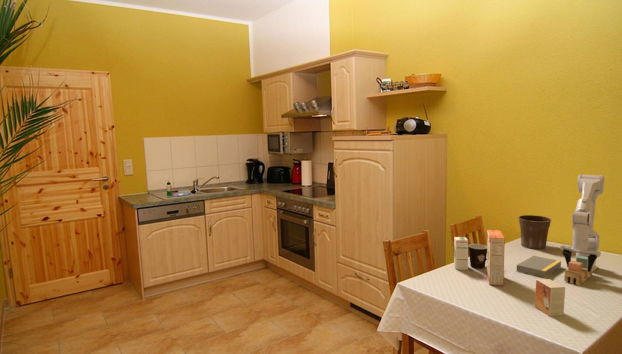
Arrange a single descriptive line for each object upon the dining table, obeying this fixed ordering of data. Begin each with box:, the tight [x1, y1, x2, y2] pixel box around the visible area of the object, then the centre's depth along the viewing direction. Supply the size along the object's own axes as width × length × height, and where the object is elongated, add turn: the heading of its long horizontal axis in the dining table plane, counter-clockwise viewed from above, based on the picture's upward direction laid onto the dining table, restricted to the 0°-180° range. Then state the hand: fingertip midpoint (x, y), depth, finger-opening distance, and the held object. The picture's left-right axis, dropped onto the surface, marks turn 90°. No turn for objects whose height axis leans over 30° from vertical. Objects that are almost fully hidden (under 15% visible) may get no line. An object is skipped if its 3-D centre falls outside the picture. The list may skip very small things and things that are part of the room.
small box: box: [534, 278, 566, 317], centre depth 143 cm, size 8×6×10 cm
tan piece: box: [563, 266, 593, 286], centre depth 174 cm, size 18×6×6 cm, turn 131°
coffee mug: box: [468, 243, 487, 270], centre depth 190 cm, size 12×9×10 cm
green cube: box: [575, 256, 588, 268], centre depth 177 cm, size 4×4×4 cm
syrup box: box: [453, 236, 469, 271], centre depth 189 cm, size 6×6×14 cm
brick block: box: [567, 260, 582, 273], centre depth 170 cm, size 4×4×4 cm
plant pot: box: [518, 214, 552, 250], centre depth 222 cm, size 16×16×16 cm
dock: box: [516, 255, 562, 278], centre depth 186 cm, size 20×12×3 cm, turn 131°
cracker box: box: [486, 229, 506, 287], centre depth 173 cm, size 14×6×21 cm, turn 160°
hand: (578, 269), depth 173 cm, fingers open, 7 cm apart
